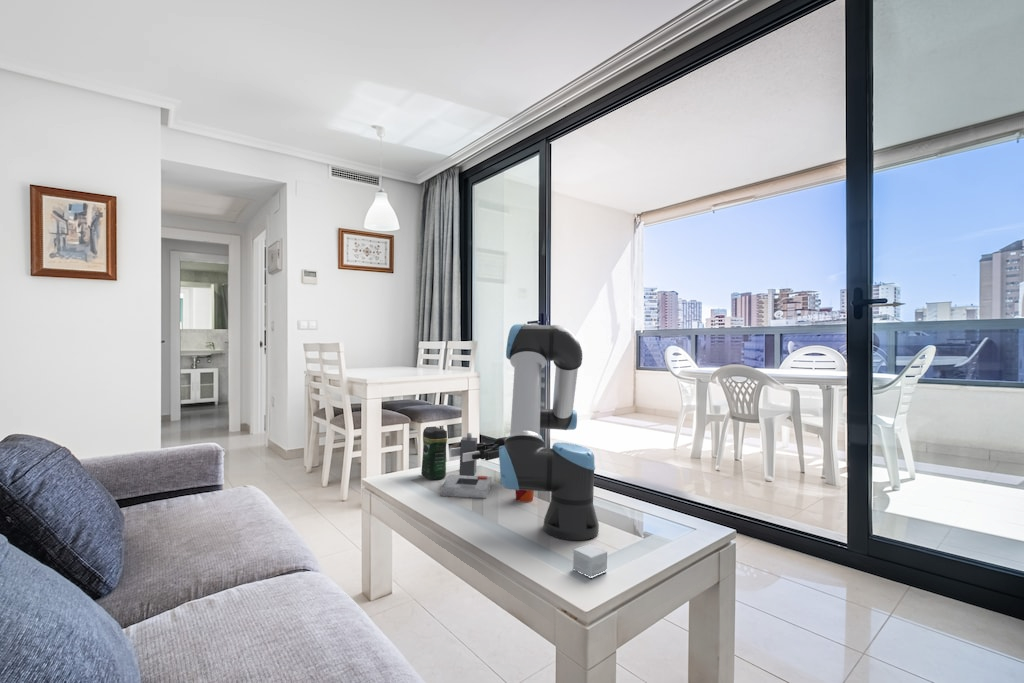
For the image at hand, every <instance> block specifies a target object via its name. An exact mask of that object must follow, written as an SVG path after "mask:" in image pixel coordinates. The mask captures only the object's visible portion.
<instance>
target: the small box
mask: <svg viewBox="0 0 1024 683" xmlns="http://www.w3.org/2000/svg"><path fill="white" fill-rule="evenodd" d="M572 554H573V556H572V557H573V558H572V560H573V561H572V570H573V569H575V570H576V571H579V572H581V573H583V574H586V575H588V576H590V577H591V576H594V575H596V574H599V573H601V572H603V571H605V570H606V569H607V570H608V551H607V550H604V549H602V548H600V547H598V546H595V545H593V544H590V543H588V544H585V545H583V546H580V547H577V548H574V549H573V552H572ZM576 571H575V572H576Z"/></svg>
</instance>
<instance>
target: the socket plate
mask: <svg viewBox="0 0 1024 683" xmlns="http://www.w3.org/2000/svg"><path fill="white" fill-rule="evenodd" d="M492 477H493V476H487V475H474V476H463V475H459V474H449V476H447V478H446V479H445V481H444V482H443V484H442V485H441V487H440V497H451V498H452V497H453V496H454V498H455V497H456V498H457V497H458V498H469V497H471V498H472V499H487V498H488V495H489V492H490V490H489V489H491V486H492Z"/></svg>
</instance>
